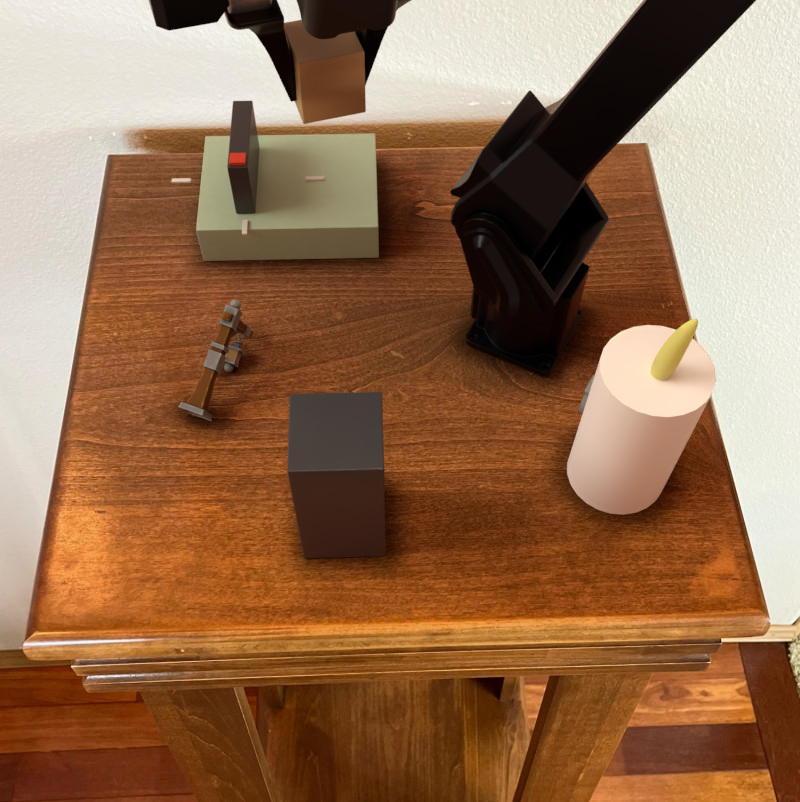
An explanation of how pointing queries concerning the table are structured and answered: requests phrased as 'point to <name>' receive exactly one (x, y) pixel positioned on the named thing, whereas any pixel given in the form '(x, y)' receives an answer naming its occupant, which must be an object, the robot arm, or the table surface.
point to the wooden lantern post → (218, 359)
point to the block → (326, 74)
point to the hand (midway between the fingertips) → (325, 90)
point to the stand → (337, 473)
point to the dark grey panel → (243, 157)
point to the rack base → (293, 200)
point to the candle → (639, 416)
